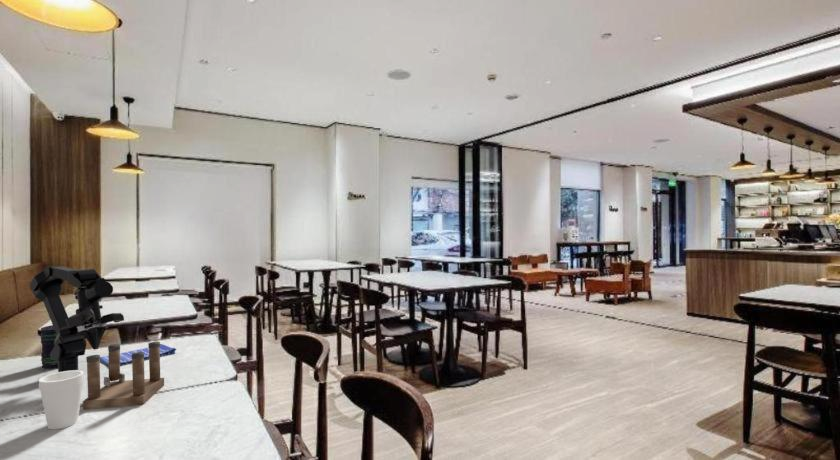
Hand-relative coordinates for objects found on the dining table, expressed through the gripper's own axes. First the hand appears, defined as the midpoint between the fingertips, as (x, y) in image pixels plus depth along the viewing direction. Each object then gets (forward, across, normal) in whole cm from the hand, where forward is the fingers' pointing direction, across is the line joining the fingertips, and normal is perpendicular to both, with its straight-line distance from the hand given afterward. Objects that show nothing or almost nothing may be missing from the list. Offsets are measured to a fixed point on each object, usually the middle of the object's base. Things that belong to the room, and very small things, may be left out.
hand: (95, 349), depth 149 cm
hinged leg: (+12, +9, -6) cm, 16 cm away
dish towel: (+5, -7, +32) cm, 33 cm away
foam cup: (+20, +9, -28) cm, 36 cm away
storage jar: (0, -31, +22) cm, 38 cm away
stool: (+18, +15, -10) cm, 25 cm away
